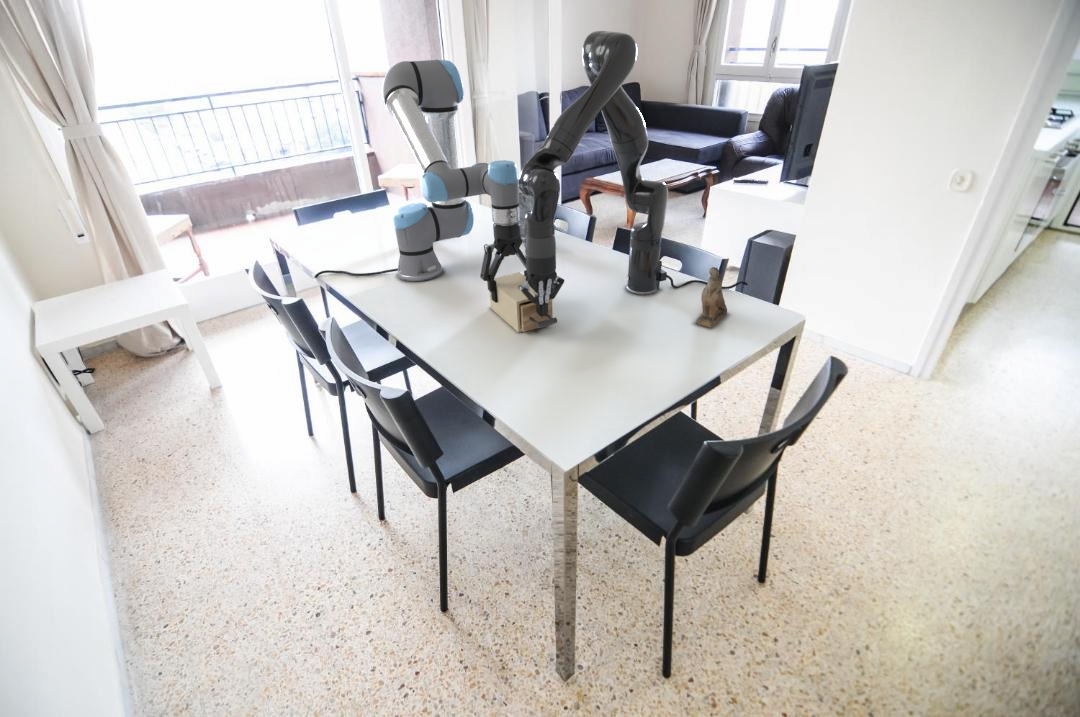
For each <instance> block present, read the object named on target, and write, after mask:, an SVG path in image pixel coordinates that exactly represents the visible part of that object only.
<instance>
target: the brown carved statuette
mask: <svg viewBox="0 0 1080 717" xmlns="http://www.w3.org/2000/svg"><path fill="white" fill-rule="evenodd" d="M708 273H709V275H710V276H709V278H708V279H707V280H708V281H707V282H708V284H707V285H706V286H705V287H704V288H703V290H702V292H701V297H700V298H701V309H702V312H701V315H700V316H699V317H698V318H697V319H696V321H695V324H696V325H699V326H703V327H705V328H712V327H714V326H715V325H716V324H717V323H719V321H721V320H722V319H723V318H725V317H726V316H727V315H728V307H727V304H726V301H725V298H724V293H723V289H721V288H722V287H723V281H722V279H721V278H720V270H719V269H718V268H717V267H715V266H712V267H711V268H710V269H709V270H708Z"/></svg>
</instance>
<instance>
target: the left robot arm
mask: <svg viewBox="0 0 1080 717" xmlns="http://www.w3.org/2000/svg"><path fill="white" fill-rule="evenodd" d="M464 92H465V90H464V84H463V80H462V77H461V74H460V72H459V70H458V68H457V65H455V63H453V62H452V61H450V60H447V59H438V58H437V59H428V60H413V61H412V60H411V61H409V60H405V61H404V60H403V61H399V62H396V63H395V64H393V65H392V66H391V67H390V68H389V69H388V71H387V72H386V73H385V76H384V78H383V81H382V85H381V97H382V101H383V105H384V106H385V109H386V111H387V113H388V114H389V115H390V116H391V117H392V118H395V121H396V123H397V124H398V126H399V129H400V130H401V132H402V134H403V137H404V139H405V140H406V142H407V144H408V146H409V148H410V151H411V153H412V154H413V156H414V158H415V160H416V162H417V164H418V167H419V169H420V170H421V172H422V174H420V178H419V183H420V184H419V185H420V189H421V192H422V196H423V198H424V199H425V201H427V202H428V203H431V206H428V205H427V204H425V203H424V202H423V203H422V202H417V203H410V204H406V205H403V206H401V207H399V208H397V209H396V210H395V211H394V213H393V215H392V219H393V228H394V230H395V231H394V232H395V236H396V241H397V247H398V251H399V259H398V265H397V268H392V269H385V270H381V271H375V272H362V273H361V272H360V273H359V272H357V273H356V272H350V271H346V270H330V269H329V270H320V271H318V272H317V273H316V274H315V275H314V278H318V277H319V276H321V275H322V274H345V275H349V276H354V277H366V276H367V277H368V276H375V275H382V274H388V273H392V272H394V273H395V272H397V276H398V278H399V279H400V280H402V281H406V282H413V283H414V282H425V281H429V280H432V279H435V278H438V277H439V276H440V275H441V274H442V273H443V268H442V264H441V263H440V260H439V259H438V256H437V254H436V252H435V250H434V243H435V242H440V241H441V242H442V241H446V240H450V239H455V238H461V237H463V236H466V235H469V234H470V233H471V231H472V230H473V226H474V219H475V218H474V217H475V216H474V211H473V207H472V205H471V203H470V202H469V201H468V200H467V199H466V198H468V197H469V198H470V197H476V196H482V195H488V196H490V203H491V204H490V207H491V218H492V222H493V224H492V228H493V238H494V241H493V243H491V244H487V243H485V244H484V245H483V249H484V250H483V251H484V255H483V259H482V264H481V269H480V275H479V277H480V279H481V280H483V281H484V282H486V284H487V290H488V292H489V291H490V292H491V297H492V300H493V301H494V302H495V303H497V302H498V298H497V285H496V281H495V280H494V278H496V276H497V273H498V271H499V268H500V266H501V264H502V262H503V261H504V259H505V258H506V257H509V256H515V255H516V257H517V258H518V260H519V261H520V263H522V264H521V265H523V267H524V268H525V270H523V275H524V276H527V270H526V255H524V252H523V251H522V250H521V249H520V248H521V246H522V245H524V247H525V240H526V236H525V237H524V238H521V225H520V222H519V220H520V208H519V174H518V166H517V163H516V162H515V161H513V160H506V159H503V160H494V161H491V162H490V163H487V162H476V163H473V164H472V166H467V167H459V161H458V148H457V141H456V140H457V139H456V129H455V128H456V127H455V119H454V118H455V115H456V114H457V112H458V111H459V109H458V107H459V106H458V104H460V103H462V102H463V101H464V95H465V94H464ZM495 250H496V251H495ZM494 251H495V253H494ZM493 253H494V258H493ZM492 258H493V259H492Z"/></svg>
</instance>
